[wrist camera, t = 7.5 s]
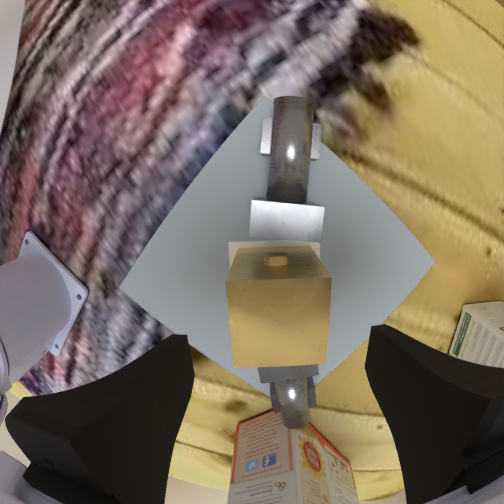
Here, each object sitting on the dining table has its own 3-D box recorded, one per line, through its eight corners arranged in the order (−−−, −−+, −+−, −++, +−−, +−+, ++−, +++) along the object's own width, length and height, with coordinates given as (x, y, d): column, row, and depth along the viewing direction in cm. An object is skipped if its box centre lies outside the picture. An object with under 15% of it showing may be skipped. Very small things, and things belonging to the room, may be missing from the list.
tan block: (309, 316, 19) (325, 369, 13) (242, 318, 19) (234, 373, 13) (309, 238, 17) (331, 267, 12) (237, 241, 18) (224, 272, 12)
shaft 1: (310, 231, 17) (320, 242, 14) (251, 226, 17) (248, 236, 14) (320, 112, 16) (332, 98, 12) (261, 106, 16) (260, 90, 13)
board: (287, 400, 22) (287, 407, 21) (123, 284, 20) (118, 288, 19) (430, 258, 18) (436, 262, 17) (264, 99, 16) (264, 96, 15)
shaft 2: (257, 334, 19) (255, 361, 16) (309, 326, 19) (316, 351, 16) (273, 408, 21) (273, 436, 18) (316, 401, 21) (322, 429, 18)
